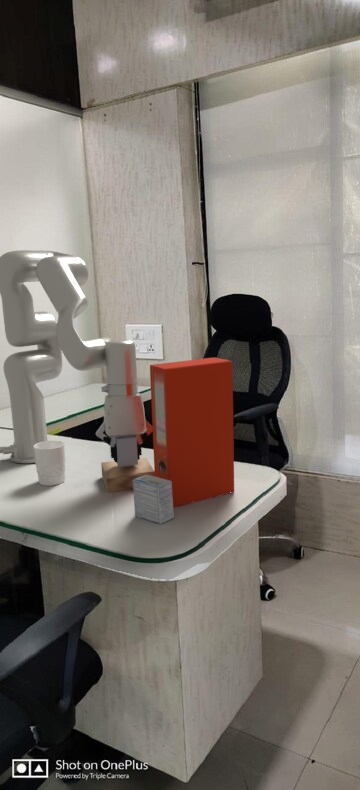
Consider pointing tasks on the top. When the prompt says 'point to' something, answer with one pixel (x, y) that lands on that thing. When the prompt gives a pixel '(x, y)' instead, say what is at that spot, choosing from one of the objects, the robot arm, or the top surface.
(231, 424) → the file binder
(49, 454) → the white cup
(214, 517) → the top surface
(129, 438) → the block
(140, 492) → the medicine box
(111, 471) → the pedestal
